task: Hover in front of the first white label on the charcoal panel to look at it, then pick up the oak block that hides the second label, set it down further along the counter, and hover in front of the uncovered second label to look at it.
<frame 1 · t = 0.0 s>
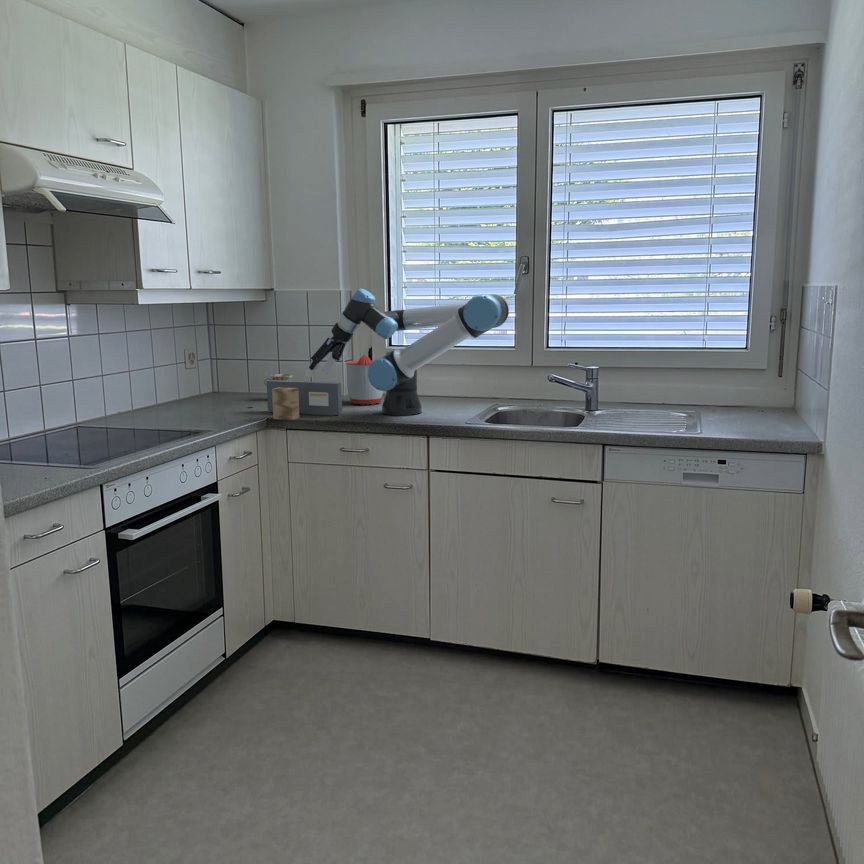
hand: (315, 374, 290), 15 cm above the countertop, tool tilted 35°, fingers open, 13 cm apart
mug: (279, 400, 331), on the countertop
oak block: (286, 418, 286), on the countertop
citrus juicer: (368, 403, 320), on the countertop
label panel: (304, 413, 296), on the countertop
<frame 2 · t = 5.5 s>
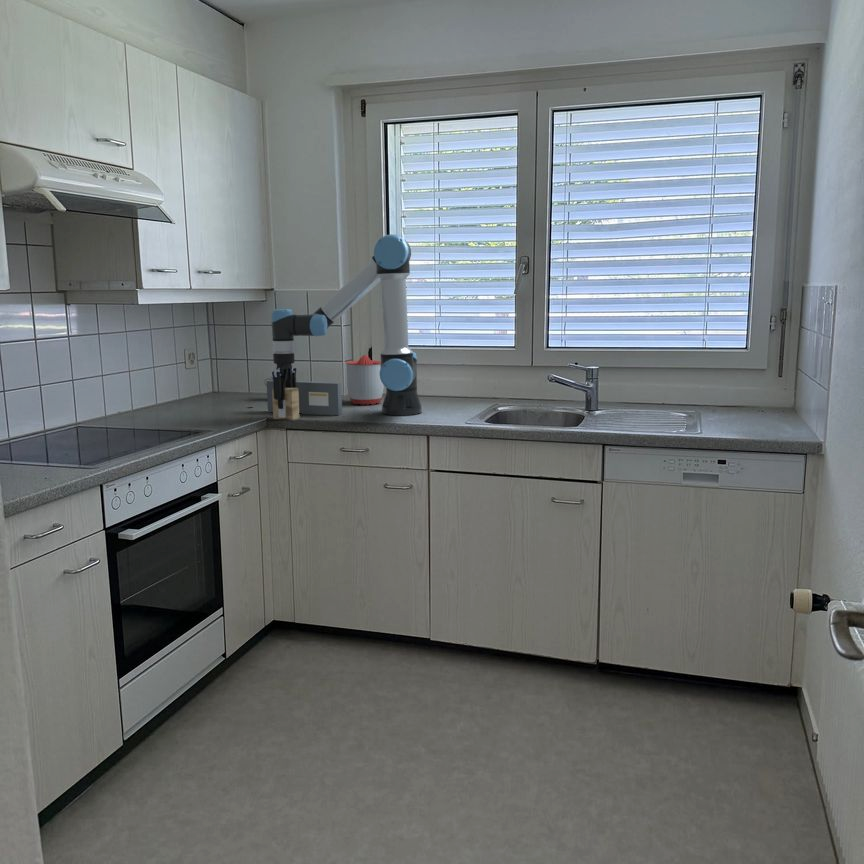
hand: (286, 416, 285), 1 cm above the countertop, tool pointing down, fingers closed on oak block, 5 cm apart
oak block: (286, 418, 286), on the countertop, touching gripper
everything else where it was.
when the fingers open (2 cm above the countertop, at t = 12.7 s): oak block drops 1 cm, on the countertop.
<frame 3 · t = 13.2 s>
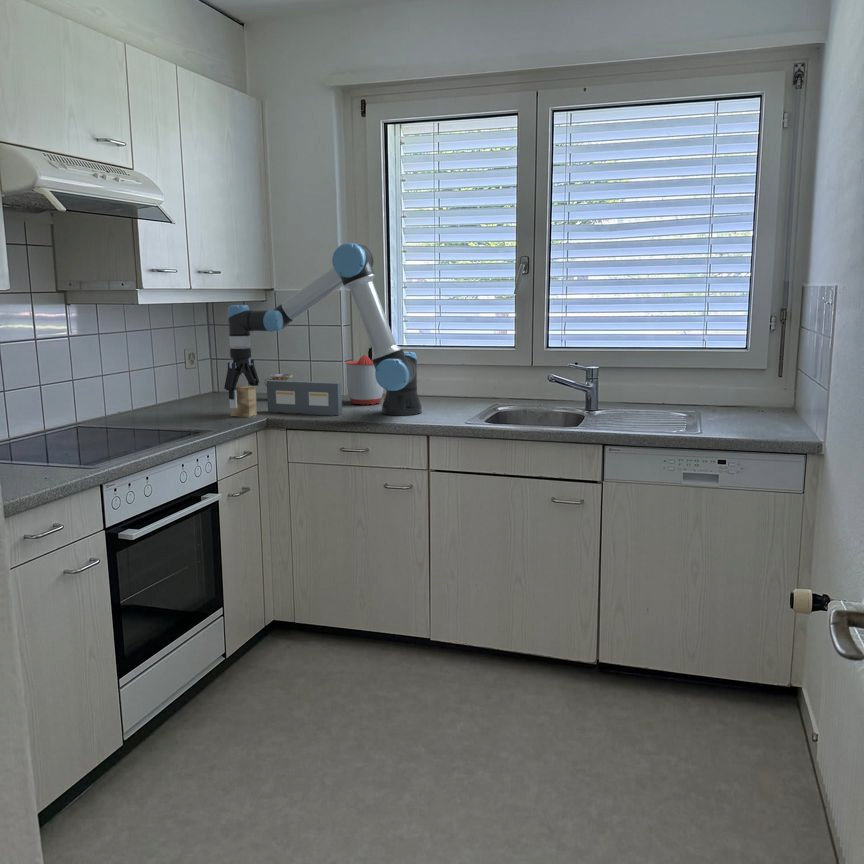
hand: (243, 405, 291), 4 cm above the countertop, tool pointing down, fingers open, 12 cm apart
oak block: (243, 416, 291), on the countertop
everything else where it was.
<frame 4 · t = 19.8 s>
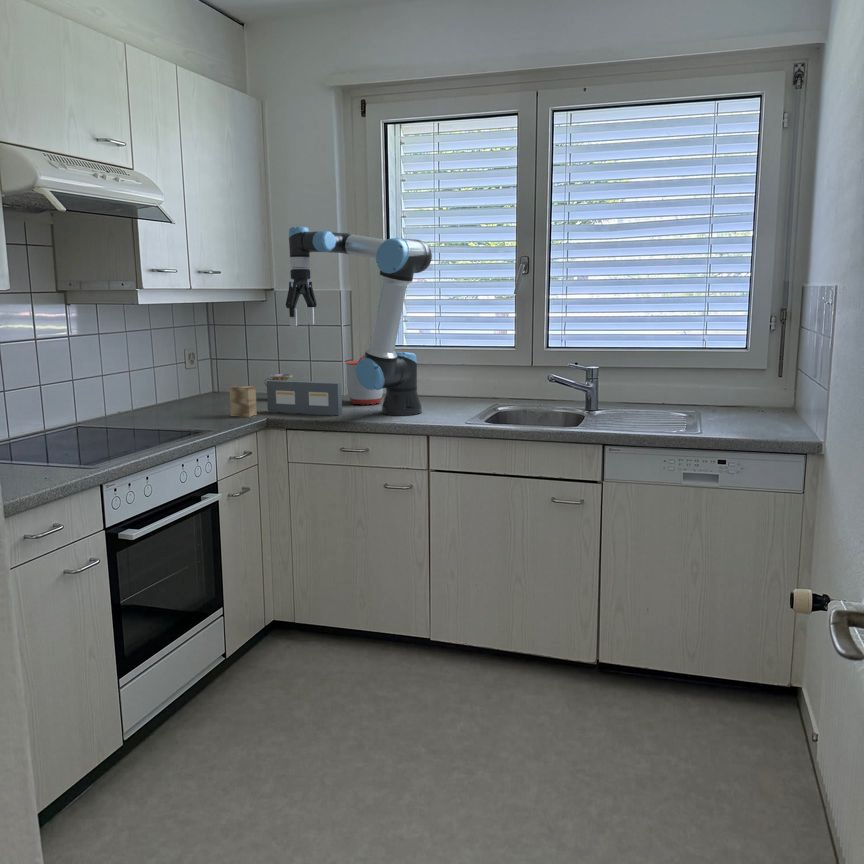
hand: (302, 325, 301), 33 cm above the countertop, tool pointing down, fingers open, 13 cm apart
nothing on the countertop moved.
at the end: oak block inside the target area (0.7 cm from its centre), on the countertop; oak block tilted 0°; the gripper is holding nothing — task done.
